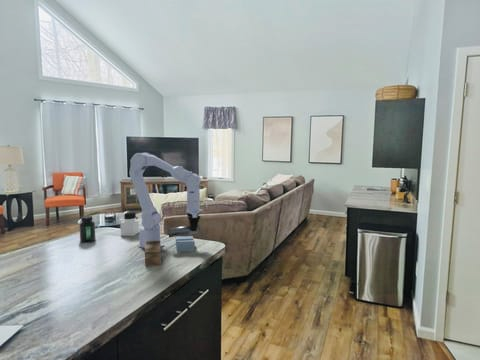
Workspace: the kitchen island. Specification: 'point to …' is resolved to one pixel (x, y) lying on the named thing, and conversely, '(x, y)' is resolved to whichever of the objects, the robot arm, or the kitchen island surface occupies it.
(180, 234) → the axle
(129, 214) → the medicine bottle
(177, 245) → the v block
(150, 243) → the beam
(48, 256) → the kitchen island surface
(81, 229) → the supplement bottle
